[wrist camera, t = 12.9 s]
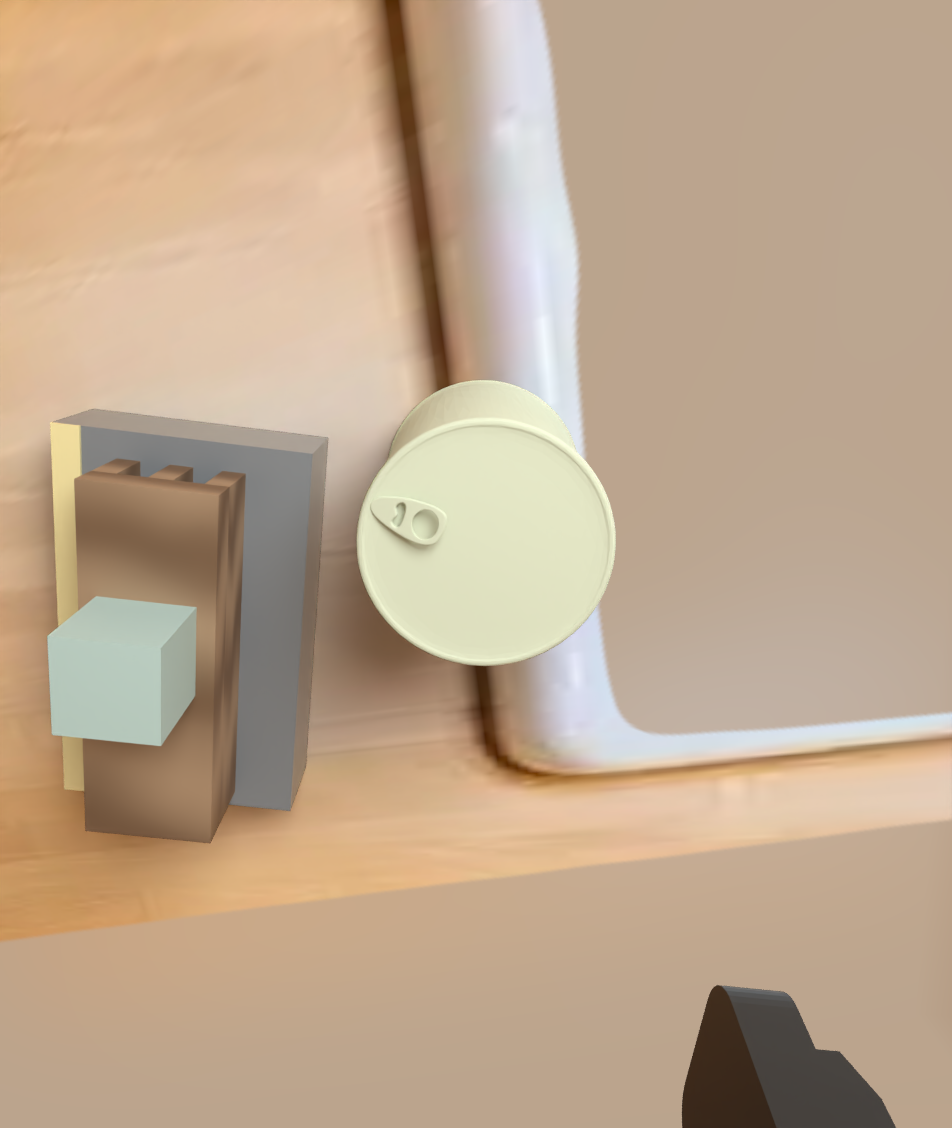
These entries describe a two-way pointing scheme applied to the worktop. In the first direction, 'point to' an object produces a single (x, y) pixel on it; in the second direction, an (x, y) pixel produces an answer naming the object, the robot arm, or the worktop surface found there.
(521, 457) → the can
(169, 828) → the board
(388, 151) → the worktop surface
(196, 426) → the dock
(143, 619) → the pale green cube
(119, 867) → the worktop surface
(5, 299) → the worktop surface
